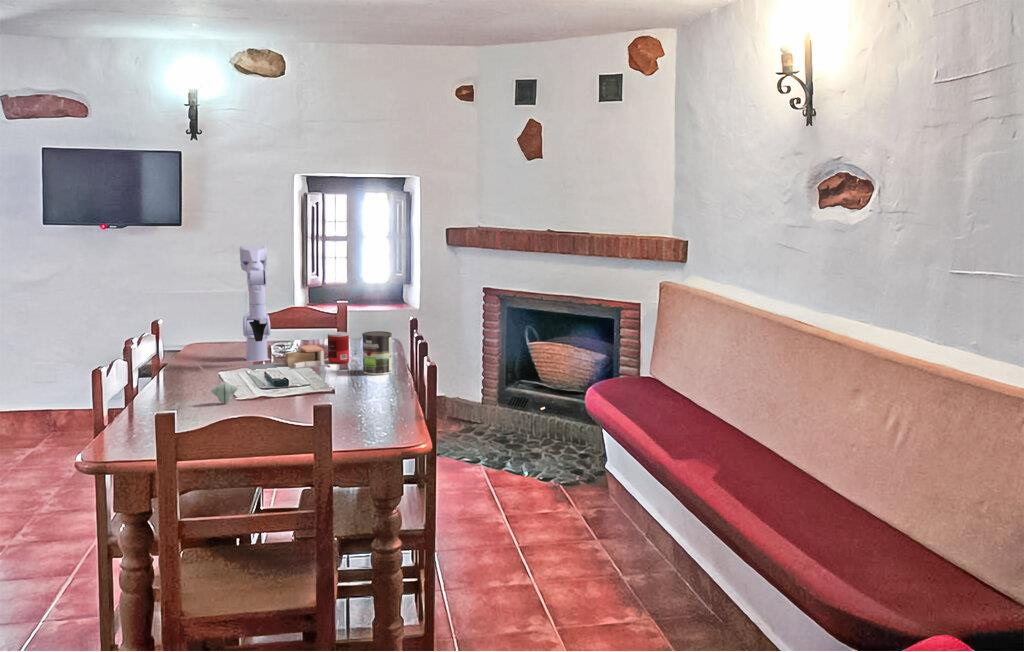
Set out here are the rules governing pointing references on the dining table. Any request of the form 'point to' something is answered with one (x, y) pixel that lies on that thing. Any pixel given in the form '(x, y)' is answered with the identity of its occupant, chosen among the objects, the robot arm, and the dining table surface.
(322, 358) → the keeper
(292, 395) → the dining table surface
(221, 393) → the pale green angular piece
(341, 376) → the dining table surface
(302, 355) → the tan cardboard block
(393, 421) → the dining table surface
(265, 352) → the robot arm
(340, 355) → the canned food
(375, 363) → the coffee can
